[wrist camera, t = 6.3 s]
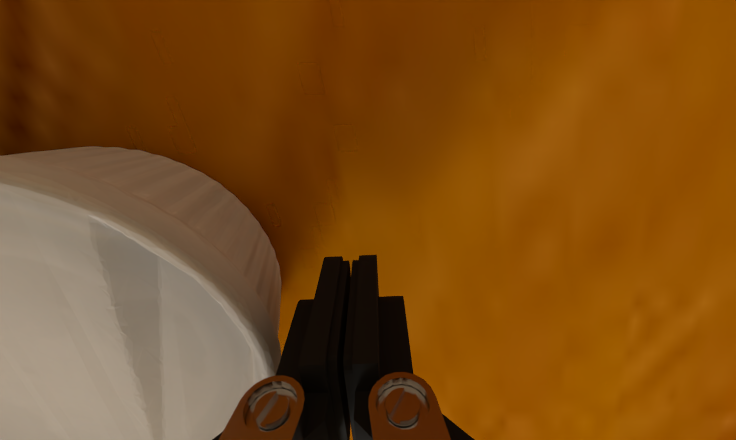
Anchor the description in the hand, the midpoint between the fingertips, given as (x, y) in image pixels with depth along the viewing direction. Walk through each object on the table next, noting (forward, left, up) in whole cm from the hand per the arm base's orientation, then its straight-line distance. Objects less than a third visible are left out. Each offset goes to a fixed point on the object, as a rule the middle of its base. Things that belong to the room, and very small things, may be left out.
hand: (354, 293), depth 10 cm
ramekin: (0, -8, -3) cm, 8 cm away
